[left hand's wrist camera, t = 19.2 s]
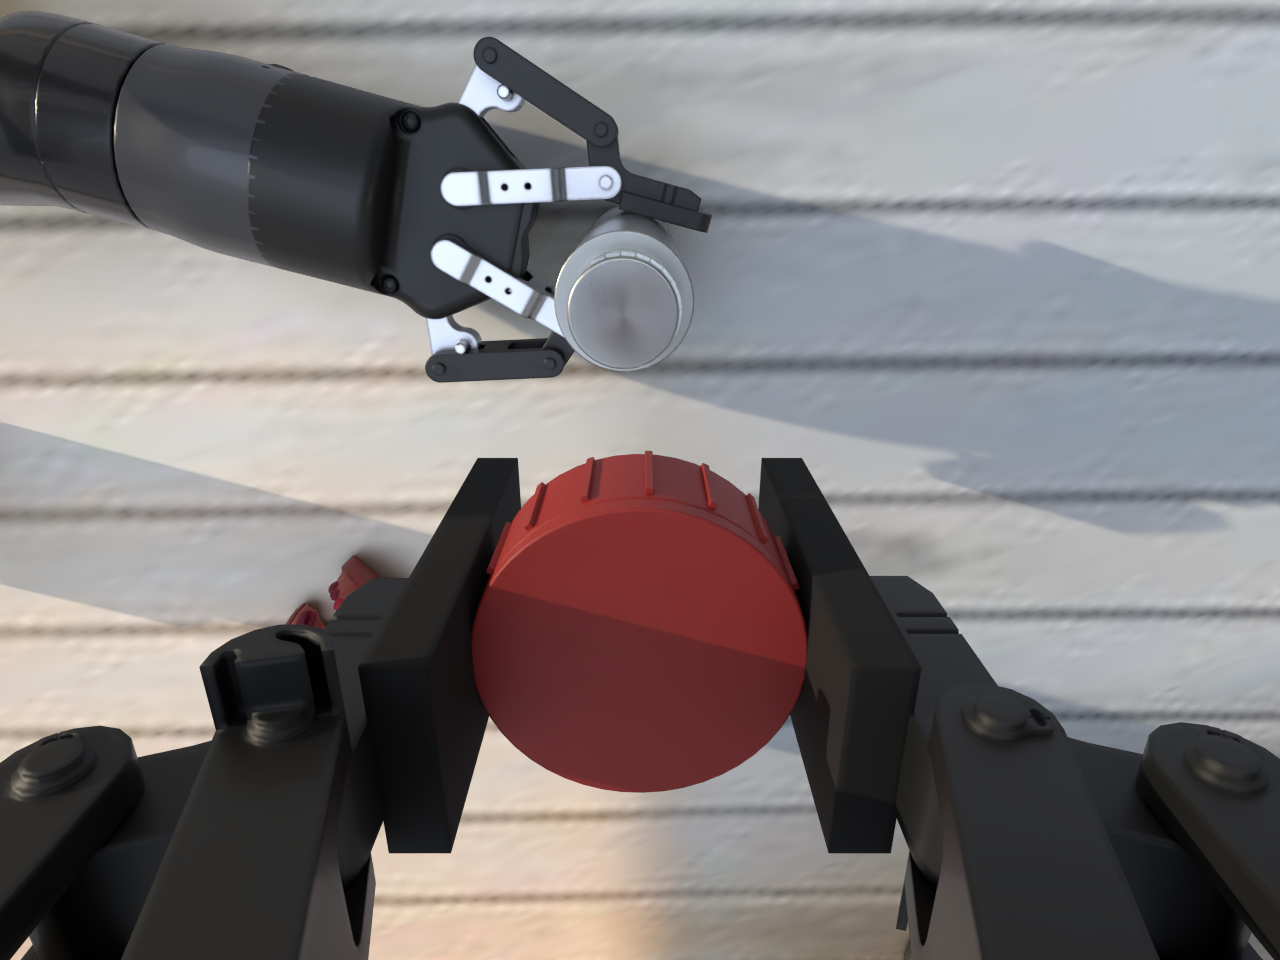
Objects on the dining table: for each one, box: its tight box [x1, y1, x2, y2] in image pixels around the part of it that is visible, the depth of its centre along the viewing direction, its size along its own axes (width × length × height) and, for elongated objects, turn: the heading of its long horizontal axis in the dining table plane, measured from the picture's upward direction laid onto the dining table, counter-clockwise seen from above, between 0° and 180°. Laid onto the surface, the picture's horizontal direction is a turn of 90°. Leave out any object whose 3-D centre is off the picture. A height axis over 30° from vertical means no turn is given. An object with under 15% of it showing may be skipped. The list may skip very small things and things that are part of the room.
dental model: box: [286, 556, 381, 630], centre depth 44 cm, size 6×4×8 cm
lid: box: [471, 451, 808, 793], centre depth 11 cm, size 5×5×2 cm
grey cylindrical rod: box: [554, 206, 694, 372], centre depth 29 cm, size 4×4×18 cm
